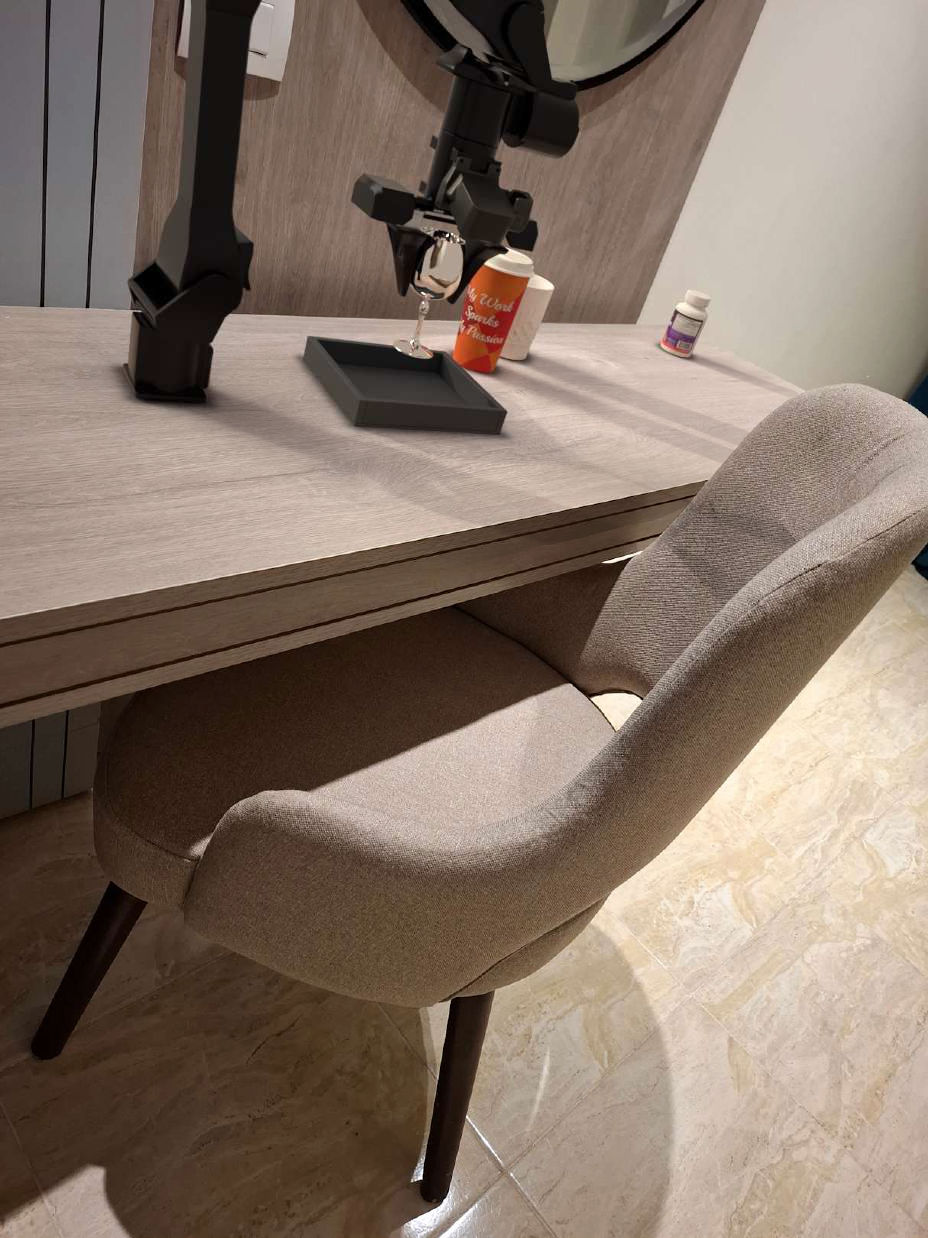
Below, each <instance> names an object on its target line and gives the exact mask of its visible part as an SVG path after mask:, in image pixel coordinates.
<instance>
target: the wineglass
mask: <svg viewBox="0 0 928 1238" xmlns="http://www.w3.org/2000/svg"><path fill="white" fill-rule="evenodd" d="M420 230H422V231H423V232H424V233H425V234H427V237H426V238H425V239H424V241H423V242H422V243H421V244H420V246H419V247H418V251H417V255H416V260H415V264H414V269H413V273H412V278H411V282H410V286H409V288H411V290H412V291H413V292H414V293H415V294H416V295H418V296H420V298H423V301H421V302H420V305H419V308H418V314H419V315H418V321H417V326H416V329H415V332H414V335H413V337H412V338H411V339H409V340H405V339H398V340H397V339H396V340H395V341H393V342H392V345H393V346H394V347H395V348H396V349H397V350H398V351H400V352H402V353H404V354H406V355H409V356H412V357H416V358H422V359H429V358H432V357H433V353H432V351H431V350H432V349H430V348H428V347H427V346H425V345H422V344H421V342H420V334H421V330H422V326H423V323H424V320H425V318H426V316H427V314H428V312H429V310H430V301H440V300H445V299H447V298H448V297H450V296H451V295H453V294H454V293H455V291H456V290H457V288H458V286H459V284H460V282H461V279H462V275H463V270H464V263H465V248H466V242H465V240H463V239H462V238H460V237H459V235H456V234H455V233H451V232H449V231H446V230H443V229H439V228H435V227H430V226H423V227H422V226H421V228H420Z"/></svg>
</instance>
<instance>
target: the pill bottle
mask: <svg viewBox="0 0 928 1238" xmlns="http://www.w3.org/2000/svg"><path fill="white" fill-rule="evenodd" d="M711 300H712V298H711V296H709V295H707V294H706V293H704V292H701V291H698V290H695V289H688V290H687V291H686V293H685V295H684V301H683V302H682V301H681V302H678V303H677V304H676V306H675V309H674V311H673V312H672V316H671V317H670V320H669V323H668V326H667V327H666V330H665V333H664V335H663V338H662V340H661V342H660V347H661V349H662V350H664V351H665V352H667V353H669V354H671V355H674V356H676V357H680V358H690V357H691V356H692V354H693V353H694V350H695V347H696V345H697V342H698V340H699V338H700V335H701V333H702V331H703V329H704V327H705V324H706V322H707V319H708V316H709V314H708V312H707V310H706V308H708V307H709V304H710V302H711Z"/></svg>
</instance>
